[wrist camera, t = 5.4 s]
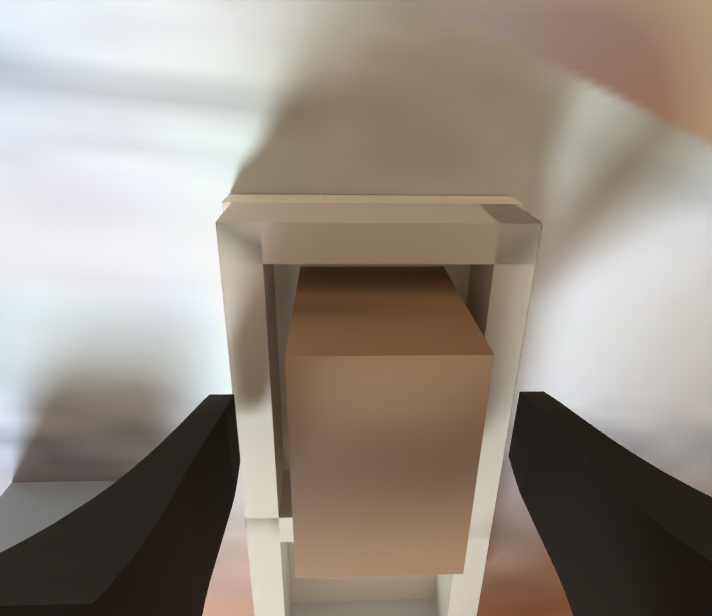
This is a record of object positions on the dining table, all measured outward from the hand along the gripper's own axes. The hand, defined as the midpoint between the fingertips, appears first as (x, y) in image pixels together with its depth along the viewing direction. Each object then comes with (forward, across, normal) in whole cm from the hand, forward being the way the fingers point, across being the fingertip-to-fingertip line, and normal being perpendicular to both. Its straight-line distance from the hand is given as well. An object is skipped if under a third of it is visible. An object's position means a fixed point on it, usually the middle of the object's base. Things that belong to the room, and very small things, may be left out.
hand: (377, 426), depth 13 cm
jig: (+4, 0, +3) cm, 5 cm away
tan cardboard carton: (+3, 0, 0) cm, 3 cm away
